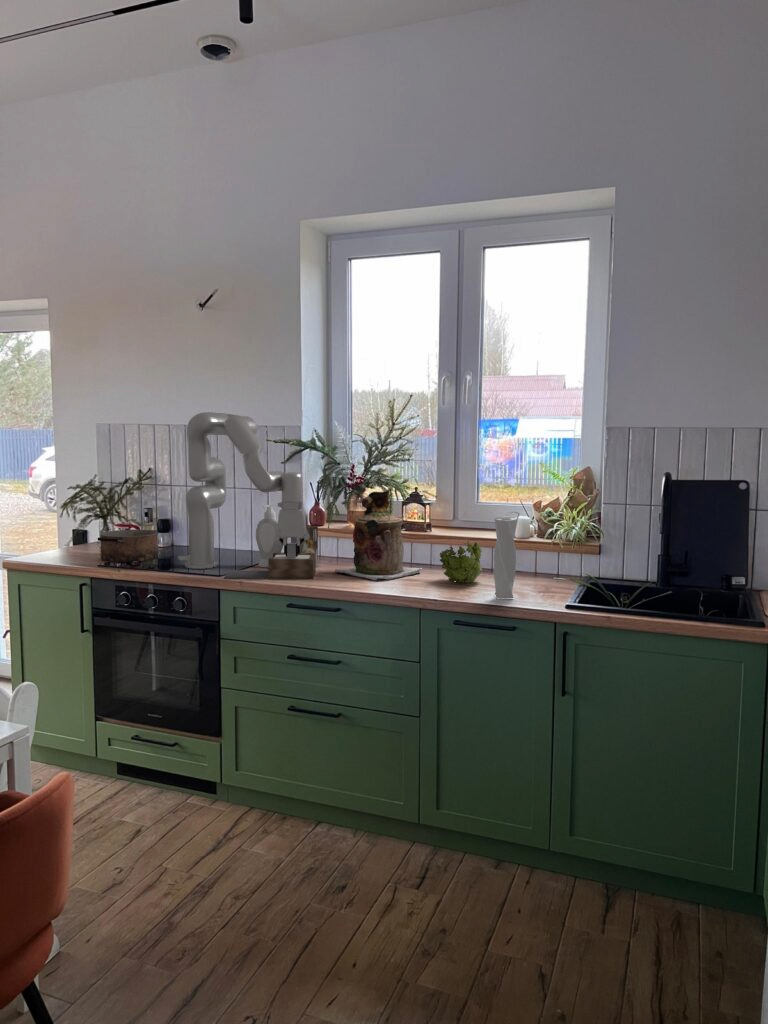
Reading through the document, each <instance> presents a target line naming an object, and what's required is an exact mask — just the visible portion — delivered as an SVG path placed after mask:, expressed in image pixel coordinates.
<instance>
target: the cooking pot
mask: <svg viewBox="0 0 768 1024" xmlns="http://www.w3.org/2000/svg"><path fill="white" fill-rule="evenodd" d="M159 533H160V532H159V530H155V529H118V530H109V531H107V530H106V531H104V532H101V533H100V537H97V541H100V559H101V561H103V562H107V563H114V562H133V561H144V562H147V561H146V560H150V561H153V560H152V559H154V560H156V559H158V558H159V544H158V543H159V540H158V539H159V535H158V534H159ZM155 558H156V559H155ZM133 563H134V562H133Z"/></svg>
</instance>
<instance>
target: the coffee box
mask: <svg viewBox="0 0 768 1024" xmlns="http://www.w3.org/2000/svg"><path fill="white" fill-rule="evenodd" d="M318 528H319V526H315V525H306V530H307V532H308V534H309V536H310V538H309V539H307V540H305V541H304V542H303V543H302V544H300V553H316V568H317V566H318V567H319V552H318V551H319V544H318V543H319V539H318V538H319V537H318V535H319V534H318V533H319V532H318V531H319V529H318ZM304 537H305V536H304ZM302 538H303V537H301V538H300V540H301V539H302ZM290 543H297V540H296V538H290Z"/></svg>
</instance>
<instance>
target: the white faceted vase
mask: <svg viewBox="0 0 768 1024" xmlns="http://www.w3.org/2000/svg"><path fill="white" fill-rule="evenodd" d="M511 514H517V517H516V519H514V518H512V517H511V516H508V515H511ZM519 516H520V512H518V511H510V512H508V513H506V514H505V516H504V515H503V516H499V517H495V518H494V527H495V535H496V540H495V545H494V551H493V579H494V580H493V581H494V588H495V592H494V594H495V595H496V597H497V598H514V594H513V588H514V583H515V582H514V581H515V578H516V569H517V548H516V547H517V546H516V543H515V534H516V530H517V525H518V522H519V521H518V519H519ZM496 597H495V598H496ZM497 598H496V599H497Z"/></svg>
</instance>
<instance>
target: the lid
mask: <svg viewBox="0 0 768 1024" xmlns="http://www.w3.org/2000/svg"><path fill="white" fill-rule="evenodd" d="M287 543H288V544H287V556H286V555H276V556H275V557H274V558H273V559H309V558H310V556H311V555H298V557H296V544H297V543H291V542H287Z"/></svg>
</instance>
